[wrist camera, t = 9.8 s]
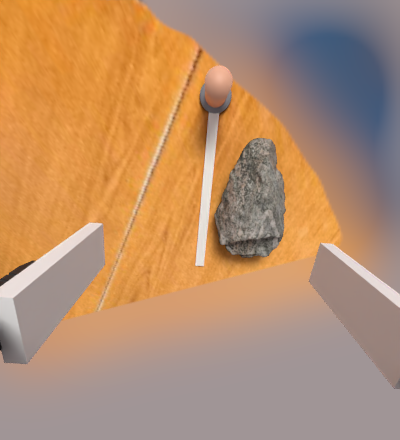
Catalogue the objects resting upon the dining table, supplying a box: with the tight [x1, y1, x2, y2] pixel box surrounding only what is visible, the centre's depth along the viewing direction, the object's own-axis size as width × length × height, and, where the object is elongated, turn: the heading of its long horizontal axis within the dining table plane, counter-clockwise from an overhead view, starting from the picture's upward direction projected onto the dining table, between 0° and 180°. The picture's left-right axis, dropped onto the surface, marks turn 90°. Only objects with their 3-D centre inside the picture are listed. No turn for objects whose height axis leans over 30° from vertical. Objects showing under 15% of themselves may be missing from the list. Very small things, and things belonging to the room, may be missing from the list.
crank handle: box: [195, 66, 233, 266], centre depth 32 cm, size 4×30×8 cm, turn 175°
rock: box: [215, 138, 286, 258], centre depth 34 cm, size 18×10×10 cm
